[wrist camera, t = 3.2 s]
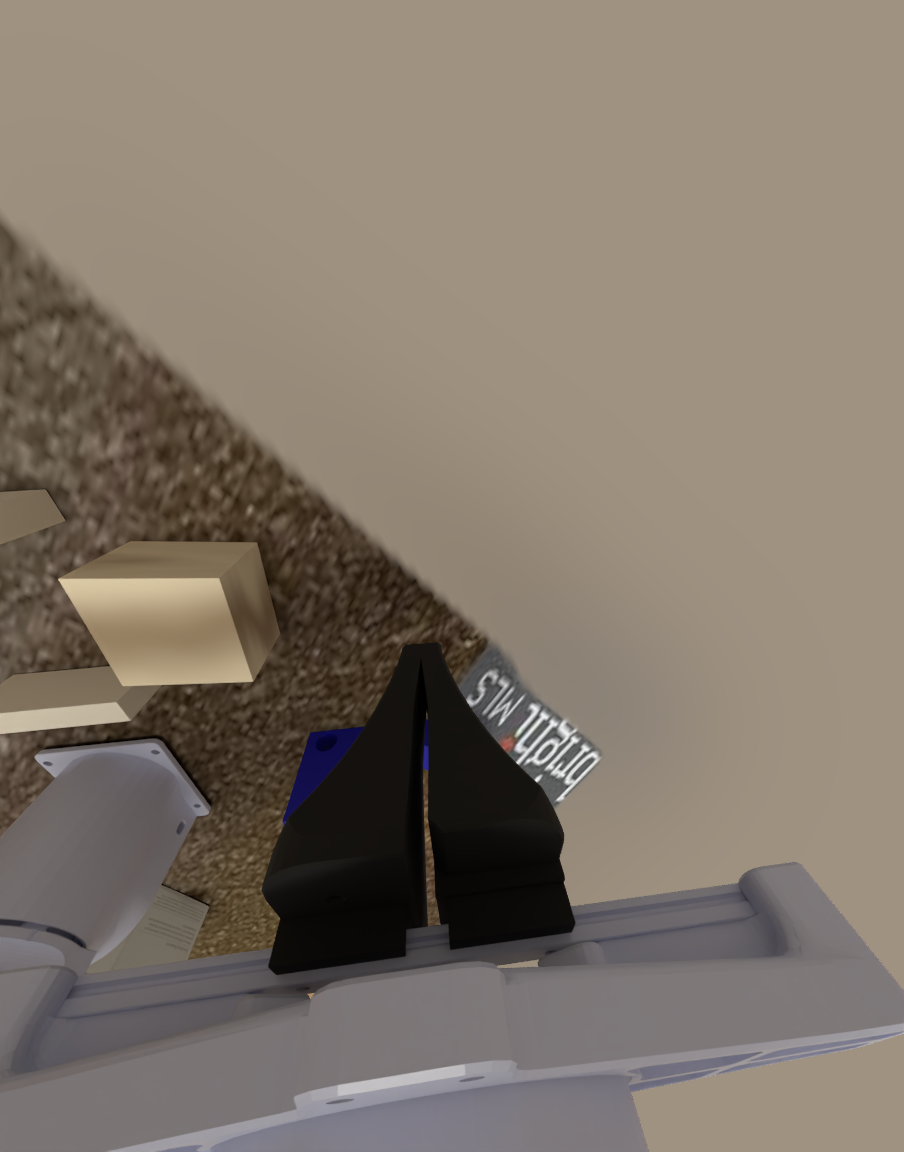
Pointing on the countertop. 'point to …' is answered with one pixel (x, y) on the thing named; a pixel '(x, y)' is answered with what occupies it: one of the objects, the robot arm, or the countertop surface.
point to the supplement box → (158, 934)
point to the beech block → (178, 611)
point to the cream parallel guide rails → (66, 691)
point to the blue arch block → (326, 761)
